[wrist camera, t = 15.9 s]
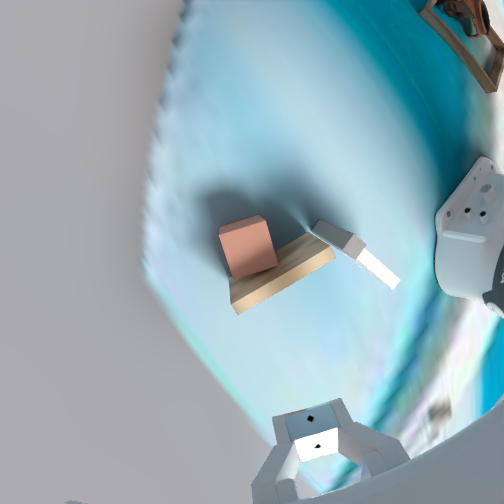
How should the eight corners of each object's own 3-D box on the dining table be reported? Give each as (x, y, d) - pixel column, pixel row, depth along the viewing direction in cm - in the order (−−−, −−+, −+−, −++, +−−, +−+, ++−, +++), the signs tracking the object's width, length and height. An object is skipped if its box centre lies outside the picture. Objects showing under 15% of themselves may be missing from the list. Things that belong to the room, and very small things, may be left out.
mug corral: (440, -16, 23) (447, -21, 21) (499, 52, 27) (508, 49, 25) (418, 13, 25) (426, 8, 23) (486, 93, 29) (496, 91, 27)
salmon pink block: (219, 226, 31) (218, 235, 26) (258, 214, 31) (265, 220, 26) (231, 264, 32) (233, 279, 27) (269, 252, 32) (278, 265, 27)
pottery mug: (447, -9, 24) (485, -5, 18) (457, 33, 30) (494, 41, 24) (423, -15, 22) (469, -13, 16) (436, 36, 28) (481, 43, 22)
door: (307, 231, 31) (330, 245, 24) (316, 248, 32) (340, 266, 25) (228, 278, 32) (230, 304, 25) (239, 294, 32) (243, 323, 25)
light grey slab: (319, 219, 31) (353, 233, 23) (365, 257, 33) (406, 281, 24) (311, 230, 32) (342, 249, 23) (358, 267, 33) (397, 295, 25)
